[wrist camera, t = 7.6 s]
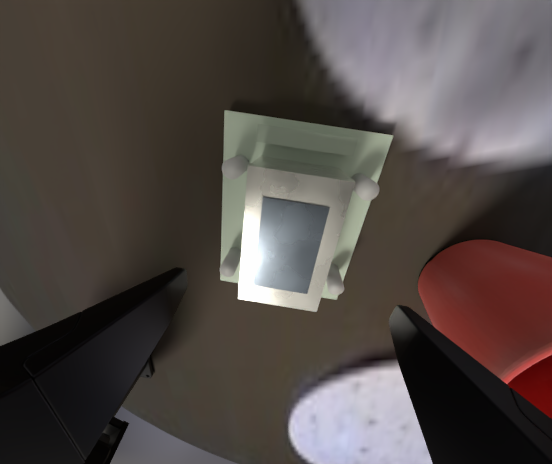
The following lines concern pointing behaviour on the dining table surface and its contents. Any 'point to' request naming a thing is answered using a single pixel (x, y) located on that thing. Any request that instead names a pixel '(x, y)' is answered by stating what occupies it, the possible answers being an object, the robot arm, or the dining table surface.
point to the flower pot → (496, 311)
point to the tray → (308, 149)
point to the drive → (291, 230)
